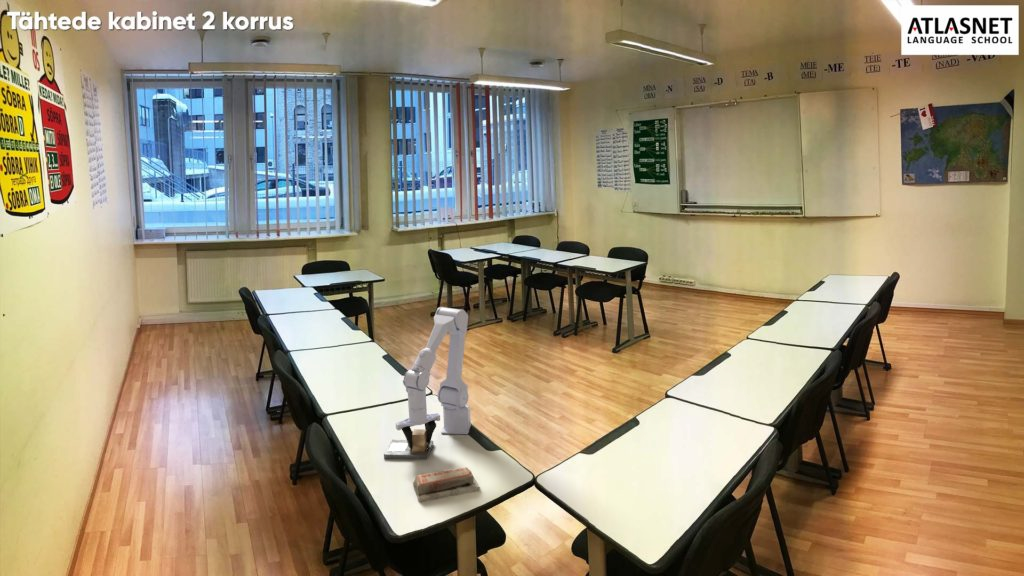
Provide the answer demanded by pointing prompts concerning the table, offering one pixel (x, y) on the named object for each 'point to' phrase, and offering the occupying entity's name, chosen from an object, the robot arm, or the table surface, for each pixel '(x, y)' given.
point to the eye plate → (405, 451)
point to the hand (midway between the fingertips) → (419, 445)
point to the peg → (419, 440)
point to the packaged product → (444, 484)
